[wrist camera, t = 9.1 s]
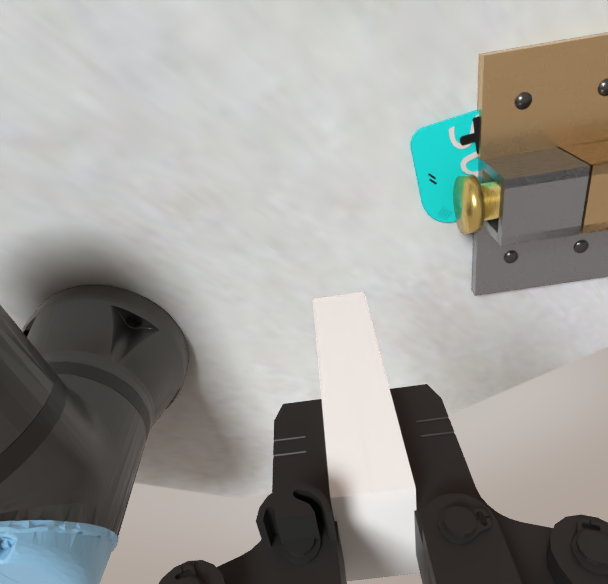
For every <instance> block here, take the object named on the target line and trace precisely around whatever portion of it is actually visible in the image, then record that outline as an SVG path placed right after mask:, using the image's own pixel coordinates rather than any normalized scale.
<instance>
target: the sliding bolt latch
mask: <svg viewBox="0 0 608 584" xmlns="http://www.w3.org/2000/svg"><path fill="white" fill-rule="evenodd" d="M477 110H478V111H479V117H480V127H479V152H478V158H479V159H478V180H479V182H480V184H483V183H489V182H495V181H496V182H497V183H498V184H500V185H501V191H500V207H499V218H497V219H491V220H484V223H483V227H482V229H481V230H480V231H479V232H474V233H473V258H472V289H471V290H472V291H473V293H474V295H482V294H489V293H496V292H503V291H510V290H517V289H524V288H531V287H538V286H545V285H551V284H558V283H565V282H572V281H579V280H586V279H593V278H600V277H607V276H608V32H607V33H601V34H595V35H589V36H583V37H577V38H572V39H566V40H560V41H554V42H548V43H542V44H536V45H530V46H524V47H518V48H512V49H507V50H501V51H495V52H489V53H483V54H479V75H478V105H477Z"/></svg>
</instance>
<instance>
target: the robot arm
mask: <svg viewBox="0 0 608 584" xmlns="http://www.w3.org/2000/svg"><path fill="white" fill-rule="evenodd" d="M313 309H314V320H315V331H316V343H317V354H318V365H319V376H320V388H321V399H318V400H311V401H303V402H295V403H287V404H283V405H282V407H281V409H280V411H279V413H278V415H277V417H276V419H275V420H274V450H273V455H274V458H273V487H272V493H271V494H270V495H269V496H268V497H267V498H266V499H265V501H264V502H263V504H262V505H261V506H260V508H259V512H258V516H257V519H256V523H257V526H258V529H259V532H260V535H261V538H262V539H261V541H260V542H259V543H258V544H257V545H256V546H255V547H254V548H253V549H252V550H250V551H248V552H247V553H245V554H244V555H242V556H240V557H238V558H235V559H233V560H231V561H229V562H227V563H225V564H223V565H220V566H218V567H215V565H213V564H211V563H208V562H206V561H203V560H198V561H187V562H185V563H183V564H181V565H179V566H177V567H175V568H173V569H172V570H171V571H170V572H169V573H168V574H166V575H165V576H164V577H163V578H162V579H161V581H160V582H159V584H347V582H346V581H352V580H362V579H371V578H380V577H389V576H398V575H406V574H416V573H419V570H420V574H421V578H422V583H423V584H608V523H607V522H605V521H603V520H601V519H599V518H596V517H591V516H585V515H576V516H569V517H565V518H564V519H562V520H561V521H560V522H558V523H556V524H555V526H554V528H549V527H544V526H538V525H533V524H528V523H523V522H519V521H515V520H512V519H509V518H507V517H505V516H503V515H501V514H499V513H497V512H496V511H494V509H492V508H491V507H490V506H488V505H487V503H486V502H485V501H484V500H483V499H482V498H481V497H480V495H479V493H478V491H477V489H476V487H475V484H474V482H473V479H472V477H471V474H470V471H469V469H468V466H467V463H466V461H465V458H464V456H463V453H462V451H461V448H460V445H459V443H458V441H457V438H456V435H455V434H454V430H453V427H452V425H451V422H450V420H449V418H448V414H447V412H446V409H445V406H444V404H443V401H442V399H441V397H439V396H438V395H437V394H436V393H435V392H434V391H433V390H432V389H431V388H430V387H429V386H428V385H427V384H425V385H417V386H409V387H402V388H394V389H389V385H388V381H387V377H386V373H385V370H384V366H383V362H382V358H381V355H380V351H379V347H378V343H377V339H376V336H375V332H374V328H373V324H372V320H371V317H370V313H369V309H368V305H367V301H366V298H365V294H364V292H359V293H351V294H344V295H337V296H330V297H323V298H315V299H313ZM188 361H189V354H188V348H187V344H186V341H185V338H184V336H183V334H182V332H181V330H180V329H179V327H178V326H177V324H176V323H175V322H174V320H173V319H172V318H171V317H170V316H169V315H168V314H167V313H166V312H165V311H164V310H163V309H161V308H160V307H159V306H157V305H156V304H155V303H153V302H151V301H150V300H148V299H146V298H144V297H142V296H140V295H138V294H136V293H133V292H130V291H127V290H124V289H120V288H116V287H111V286H102V285H86V286H78V287H73V288H69V289H66V290H63V291H61V292H58V293H56V294H55V295H53V296H51V297H50V298H48V299H47V300H45V301H44V302H43V303H42V304H41V305H40V306H39V307H38V309H37V310H36V311H35V312H34V314H33V315H32V316H31V317H30V319H29V320H28V321H27V323H26V324H25V326H24V328H23V330H22V331H21V330H20V328H19V327H18V326H17V325H16V323H15V322H14V321H13V320H12V319H11V317H10V316H9V315H8V314H7V312H6V311H5V310H4V309H3V308H2V306H1V305H0V584H99V583H100V581H101V578H102V576H103V573H104V570H105V568H106V565H107V562H108V560H109V557H110V554H111V552H112V551H113V550H114V548H115V547H116V546H117V542H118V535H119V531H120V528H121V525H122V521H123V518H124V514H125V511H126V508H127V504H128V501H129V497H130V494H131V491H132V487H133V484H134V480H135V477H136V473H137V470H138V467H139V463H140V460H141V456H142V453H143V450H144V446H145V442H146V439H147V436H148V433H149V430H150V429H151V427H152V426H153V425H154V423H155V422H156V421H157V420H158V418H159V417H160V416H161V414H162V413H163V412H164V410H165V409H167V408H168V407H169V406H170V405H171V403H172V402H173V401H174V400H175V399H176V397H177V396H178V394H179V392H180V390H181V388H182V386H183V383H184V379H185V375H186V372H187V368H188Z"/></svg>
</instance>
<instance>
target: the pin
mask: <svg viewBox="0 0 608 584" xmlns="http://www.w3.org/2000/svg"><path fill="white" fill-rule="evenodd" d="M500 191H501V185H500V184H498V183H497V182H496V181H495V182H489V183H483V184H480V182H479V180H478V178H477V177H476V176H475V175H473V174H471V175H465V176H458V177H457V178H456V180H455V183H454V188H453V205H454V213H455V217H456V221H457V224H458V227H459V229H460V231H461V232H462V233H463V234H468V233H474V232H479V231H480V230H481V229H482V227H483V223H484V220H491V219H497V218H499V207H500Z"/></svg>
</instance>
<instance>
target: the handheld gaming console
mask: <svg viewBox="0 0 608 584" xmlns="http://www.w3.org/2000/svg"><path fill="white" fill-rule="evenodd" d="M479 127H480V117H479V111H478V110H475V111H472V112H469V113H466V114H463V115H460V116H457V117H454V118H450V119H447V120H444V121H441V122H438V123H435V124H432V125H429V126H426V127H423V128H421V129H419V130H418V131H417V132H416V133H415V134H414V135H413V137H412V140H411V151H412V156H413V161H414V166H415V171H416V176H417V181H418V186H419V191H420V196H421V201H422V205H423V207H424V209H425V210H426V212H427V213H428V214H429V215H430V216H431V217H432V218H434V219H435V220H438V221H441V222H455V221H456V217H455V213H454V205H453V188H454V183H455V180H456V178H457V177H458V176H465V175H471V174H473V175H475V176H476V177H477V178H478V159H479V158H478V152H479Z"/></svg>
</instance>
